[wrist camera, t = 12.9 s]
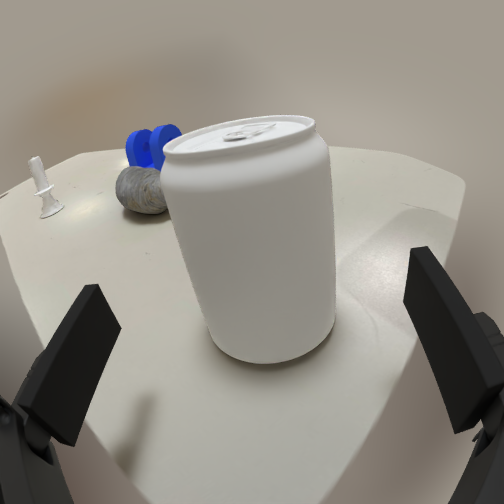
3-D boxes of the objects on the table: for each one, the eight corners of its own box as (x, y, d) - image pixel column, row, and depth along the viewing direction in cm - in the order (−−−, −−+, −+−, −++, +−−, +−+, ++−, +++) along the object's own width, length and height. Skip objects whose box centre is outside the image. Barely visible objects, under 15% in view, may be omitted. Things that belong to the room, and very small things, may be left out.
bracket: (167, 179, 52) (154, 130, 48) (134, 181, 56) (121, 137, 51) (218, 148, 66) (210, 109, 61) (187, 151, 69) (179, 114, 64)
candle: (58, 213, 51) (37, 154, 44) (37, 220, 50) (16, 164, 44) (67, 202, 55) (48, 147, 49) (47, 210, 55) (28, 157, 49)
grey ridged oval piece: (143, 174, 47) (128, 134, 41) (192, 219, 42) (178, 175, 35) (110, 196, 45) (91, 158, 39) (153, 247, 39) (132, 206, 33)
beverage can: (186, 345, 19) (118, 161, 13) (250, 273, 25) (219, 118, 19) (304, 388, 15) (277, 153, 9) (351, 294, 21) (346, 111, 15)
